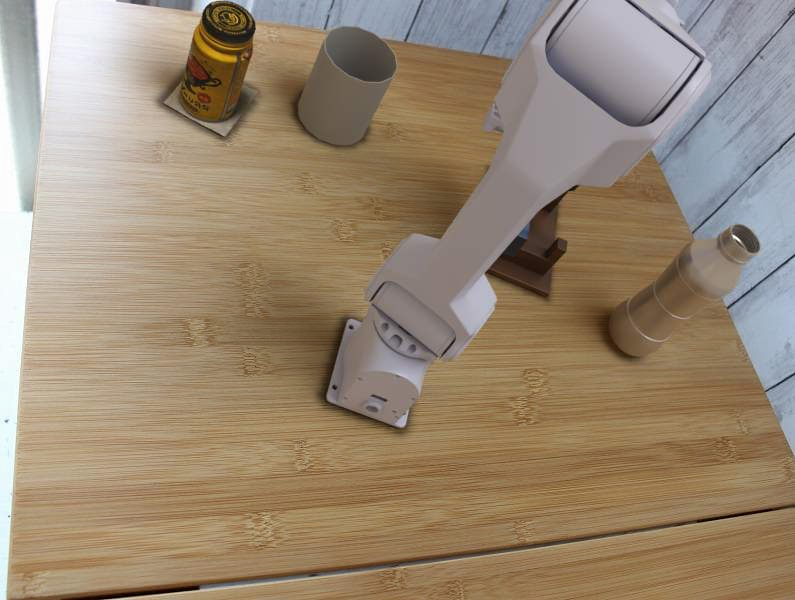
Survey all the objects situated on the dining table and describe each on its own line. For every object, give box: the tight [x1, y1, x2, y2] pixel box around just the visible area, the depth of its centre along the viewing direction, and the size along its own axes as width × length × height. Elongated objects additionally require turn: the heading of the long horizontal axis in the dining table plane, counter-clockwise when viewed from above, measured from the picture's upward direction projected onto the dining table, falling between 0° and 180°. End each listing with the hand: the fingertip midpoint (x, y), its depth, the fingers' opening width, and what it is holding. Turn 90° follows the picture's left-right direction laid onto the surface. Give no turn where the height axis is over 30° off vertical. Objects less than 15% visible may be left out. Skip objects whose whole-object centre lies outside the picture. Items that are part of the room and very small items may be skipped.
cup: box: [297, 25, 399, 146], centre depth 93 cm, size 8×8×10 cm
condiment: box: [162, 0, 259, 138], centre depth 87 cm, size 7×8×12 cm
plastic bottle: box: [608, 222, 762, 358], centre depth 88 cm, size 6×7×20 cm
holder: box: [485, 192, 569, 298], centre depth 96 cm, size 16×9×6 cm, turn 169°
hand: (513, 196), depth 89 cm, fingers closed on handle, 3 cm apart
